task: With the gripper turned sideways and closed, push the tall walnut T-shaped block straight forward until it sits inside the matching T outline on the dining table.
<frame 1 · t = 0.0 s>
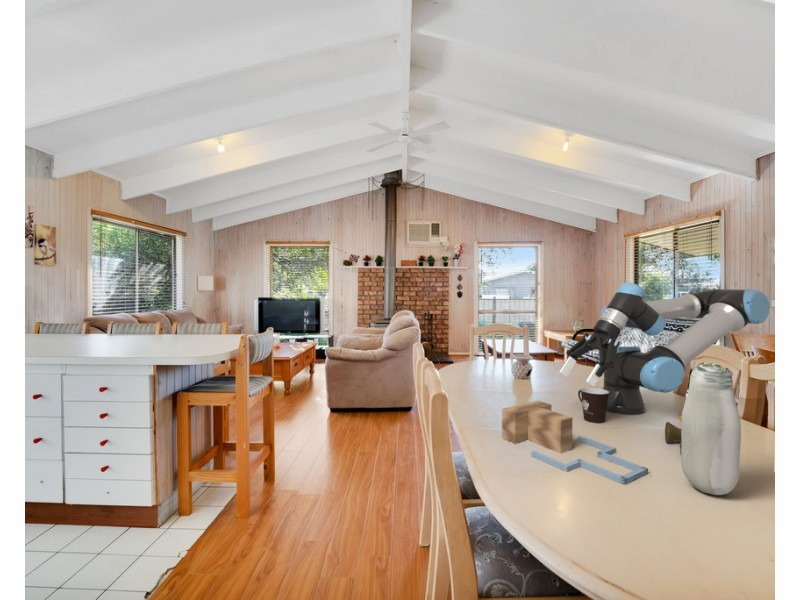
hand: (575, 379, 130), 15 cm above the table, tool tilted 35°, fingers open, 13 cm apart
t block: (542, 442, 118), on the table
coffee mug: (592, 419, 138), on the table
kendama: (686, 450, 113), on the table
t outline: (593, 462, 104), on the table
glass bottle: (708, 491, 90), on the table
cupcake: (694, 433, 125), on the table
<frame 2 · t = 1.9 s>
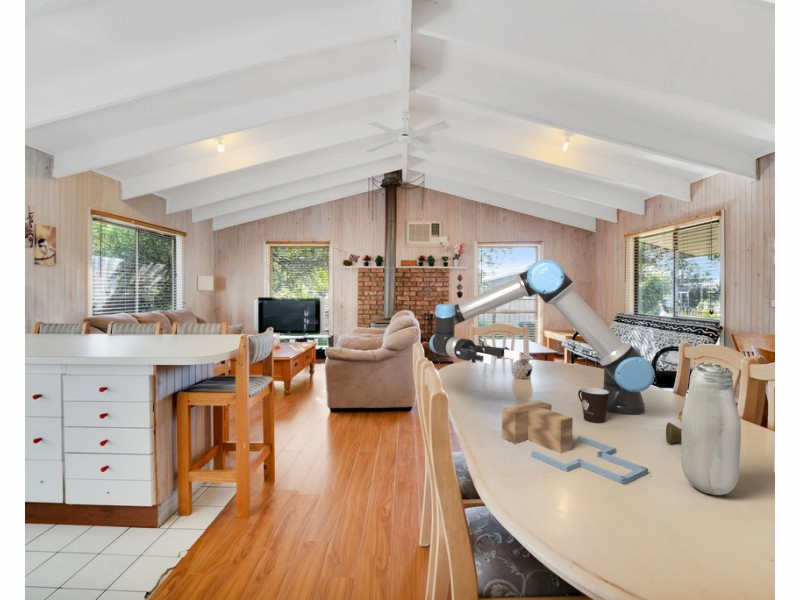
hand: (506, 358, 129), 22 cm above the table, tool horizontal, fingers open, 12 cm apart
nothing on the table moved.
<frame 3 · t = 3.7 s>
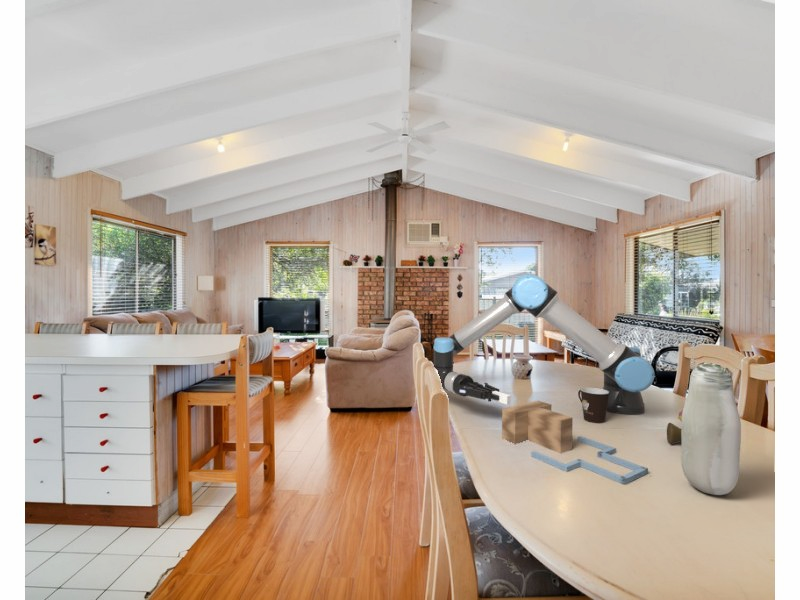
hand: (508, 400, 128), 9 cm above the table, tool horizontal, fingers closed
nothing on the table moved.
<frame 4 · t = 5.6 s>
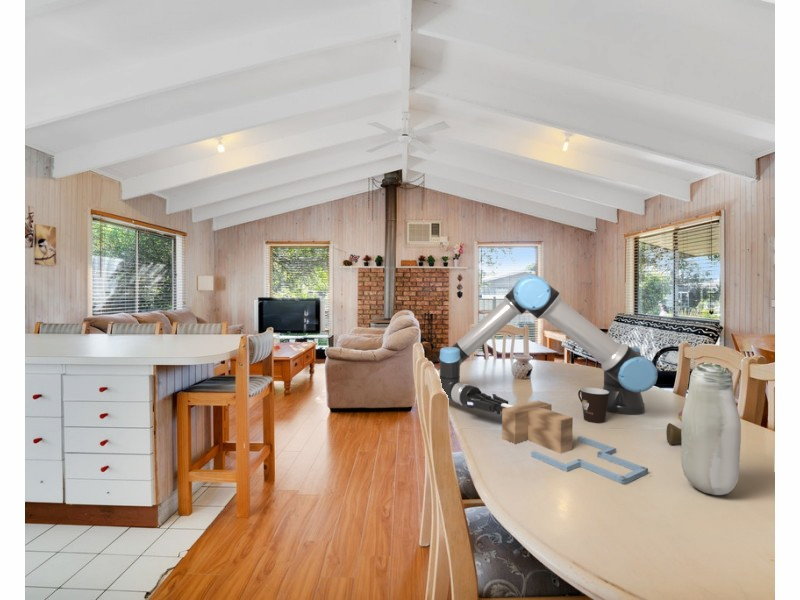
hand: (518, 412, 124), 6 cm above the table, tool horizontal, fingers closed
t block: (542, 442, 118), on the table, touching gripper
everything else where it was.
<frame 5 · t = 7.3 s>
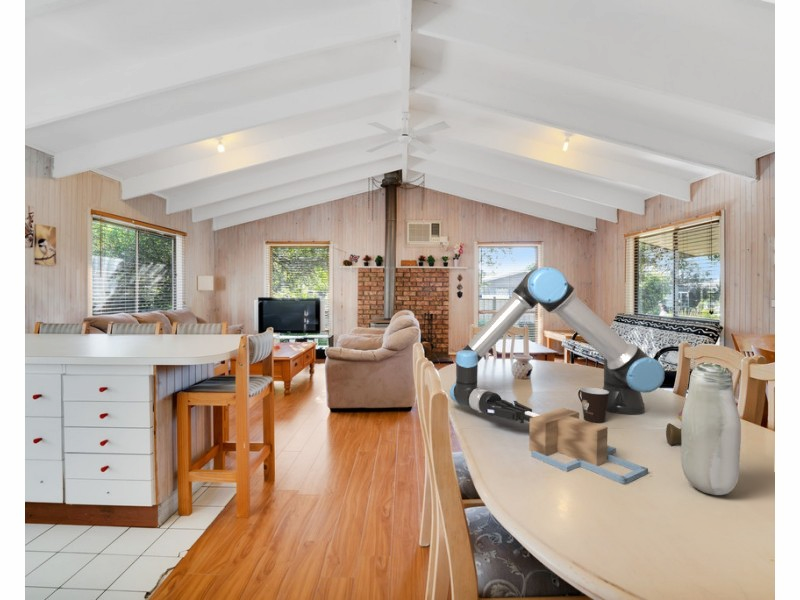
hand: (544, 422, 116), 6 cm above the table, tool horizontal, fingers closed
t block: (572, 453, 109), on the table, touching gripper
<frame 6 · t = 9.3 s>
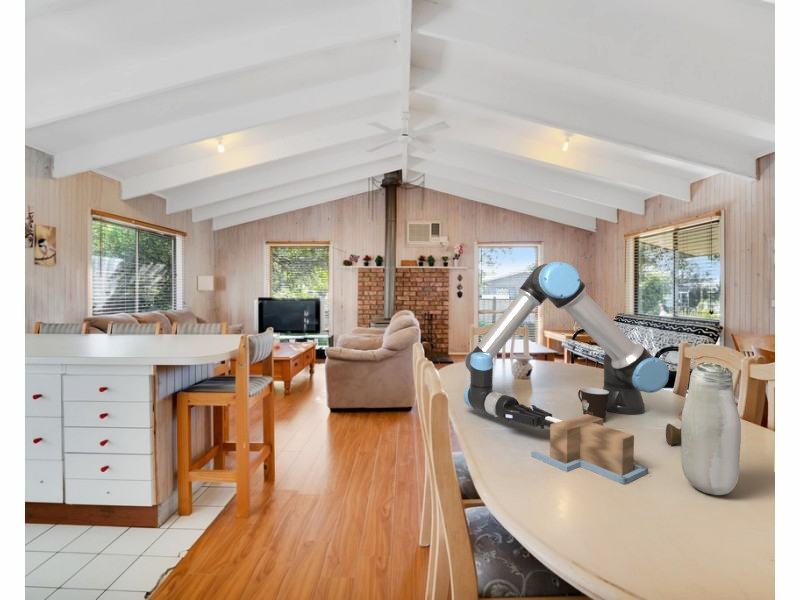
hand: (566, 428, 111), 6 cm above the table, tool horizontal, fingers closed
t block: (596, 462, 104), on the table, touching gripper
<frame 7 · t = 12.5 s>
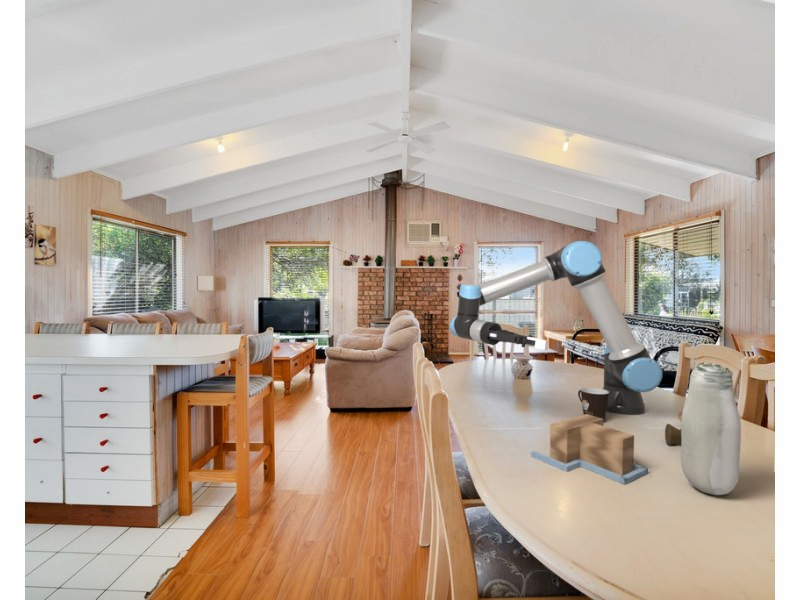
hand: (546, 345, 119), 28 cm above the table, tool horizontal, fingers closed
t block: (596, 462, 104), on the table
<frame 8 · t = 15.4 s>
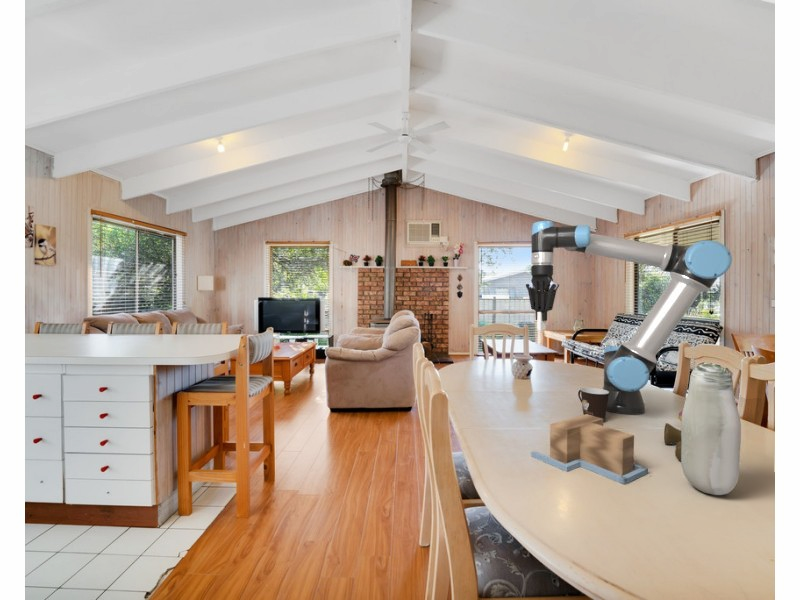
hand: (541, 329, 147), 29 cm above the table, tool pointing down, fingers closed
at the end: t block 0.7 cm from the t outline (horizontally); t block tilted 0°; t block moved 16.3 cm from its start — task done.
